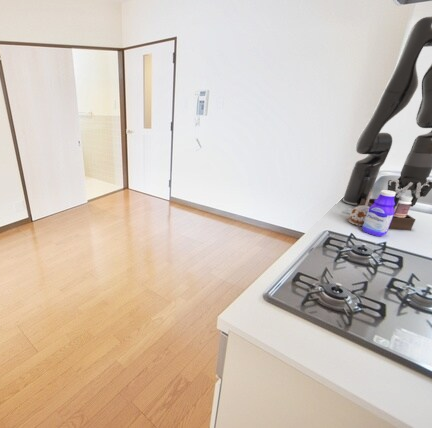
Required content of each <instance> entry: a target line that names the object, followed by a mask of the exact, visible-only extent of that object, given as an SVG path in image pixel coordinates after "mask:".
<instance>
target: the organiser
mask: <svg viewBox="0 0 432 428" xmlns="http://www.w3.org/2000/svg"><path fill="white" fill-rule="evenodd" d="M376 199H377V198H370V200H369V203H368V205H367V206H369V207H371V206H372V205H373V204H374V203H375V202H374V201H375V200H376ZM366 201H367V199H366V198H362V199H361V202H360V205H359V206H362V205H365V203H366ZM415 223H416V218H414V217H412V216H411V215H410V214H407V215H406V217H404V218H400V217H395V216H393V218H392V221H391V223H390V226H389V228H388V230H399V231H412V229H413V226H414V224H415Z"/></svg>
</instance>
